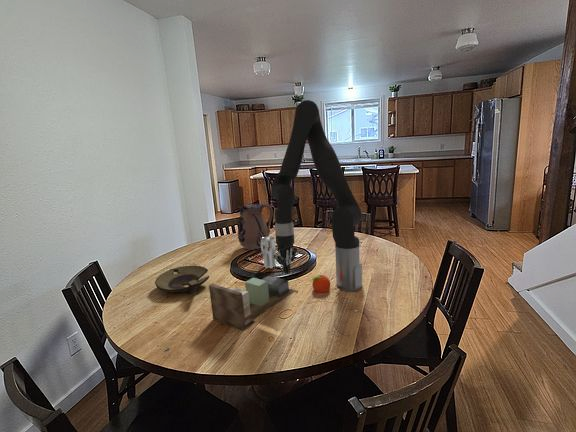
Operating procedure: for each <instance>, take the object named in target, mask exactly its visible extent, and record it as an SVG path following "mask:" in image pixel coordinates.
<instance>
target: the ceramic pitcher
mask: <svg viewBox="0 0 576 432" xmlns="http://www.w3.org/2000/svg"><path fill="white" fill-rule="evenodd" d="M264 208H268V209H269V212H270V213H269V218H268V220H267V221H266V220H265V218H264V216H263V213H262V212H263V209H264ZM238 210H239V213H240V214H239V221H238V222H239V224H238V228H237V229H238V231H237V238H238V242H239V244H240V245H241V247H243V248H244V249H245V250H248V251H256V250H255V249H258V250H260V249H261V238H263V237H270V234H271V233H270V232H271V228H270V226H271V223H272V219H273V215H274V211H273V207H272V206H271V205H270V204H268V203H267V204H265V203H264V204H261V203H252V204H244V205H243V206H239V207H238ZM259 248H260V249H259Z"/></svg>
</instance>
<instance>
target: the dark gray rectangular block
mask: <svg viewBox="0 0 576 432" xmlns="http://www.w3.org/2000/svg"><path fill="white" fill-rule="evenodd" d="M261 280H265V281H267V282H268V293H269V295H272V296H276V297H279V298H280V297H281V296H283V295H284V294H286V293H287V292H289V289H290V286H289V280H287V279H283V278H279V277H276V276H275V277H274V276H272V275H267V276H265V277H264V278H261Z"/></svg>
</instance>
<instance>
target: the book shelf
mask: <svg viewBox="0 0 576 432" xmlns="http://www.w3.org/2000/svg"><path fill="white" fill-rule="evenodd" d="M208 290H209V291H208V292H209V297H210V305H211V311H212V312H211V313H212V319H213V320H215V321H217V322H219V323H221V324H224V325H227V326H229V327H231V328H234V329H236V330H239V331H241V332H244V330H246V329H247V328H248V327H251V326H252V325H253V324H254V323H256V321H255V319H257V318H258V317H259V316H261V315H263V314H264V313H265V312H267V311H268V310H269V309H271V308H273V307H274V306H276V305H277V304H279V303H280V302H281V301H283V300H285V299H286V298H288V296H290V295H292V294H293V293H295V292H297V291H296V289H292V288H289V292H287V293H286V294H284V295H283V296H281V297H280V298H279V297H276V296H272V295H269V302H268V303H266V304H264V305H263V306H258V305H254V304H251V303H249V293H248V291H246V290H244V289H241V288H237V287H234V286H231V287H230V288H227V287H224V286H220V285H218V284H215V283H211V284H209V285H208Z"/></svg>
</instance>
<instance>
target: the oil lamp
mask: <svg viewBox="0 0 576 432" xmlns="http://www.w3.org/2000/svg"><path fill="white" fill-rule="evenodd" d="M208 272H209V270H208V268H206V267H205V266H201V265H185V266H184V265H183V266H177V267H175V268H174V267H173V268H169V270H166V271H164V272H162V273H160V274H159V275H158V276H157V278H156V279H155V281H154V284H155V286H156V288H157V289H159V290H160V291H163V292H168V293H169V292H170V293H180V292H181V293H183V292H184V293H185V292H189V293H195V292H196V291H197V290H198V288H199V287H200V286H202V285H203V284H204V283H206V282H207V280H209V278H210V275H207V276H205V277H203V276H204V275H206V273H208ZM202 277H203V278H202ZM184 285H187V286H184Z"/></svg>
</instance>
